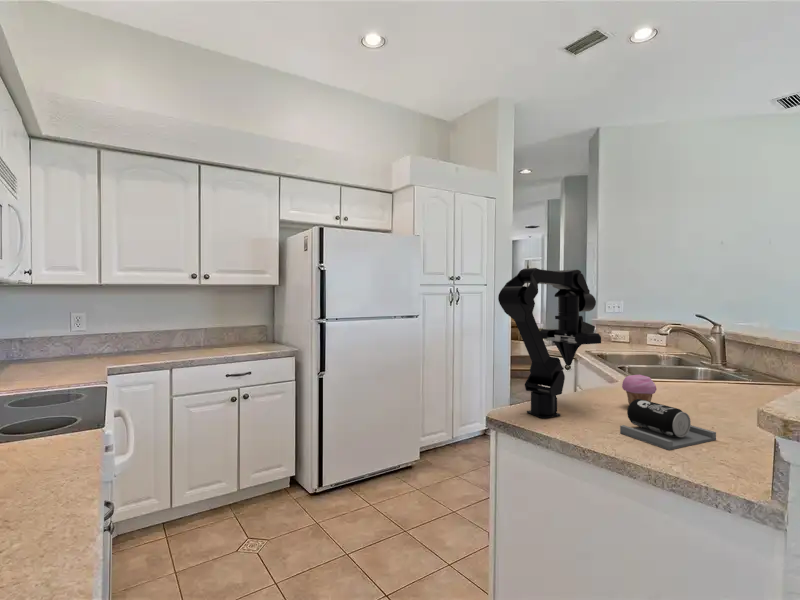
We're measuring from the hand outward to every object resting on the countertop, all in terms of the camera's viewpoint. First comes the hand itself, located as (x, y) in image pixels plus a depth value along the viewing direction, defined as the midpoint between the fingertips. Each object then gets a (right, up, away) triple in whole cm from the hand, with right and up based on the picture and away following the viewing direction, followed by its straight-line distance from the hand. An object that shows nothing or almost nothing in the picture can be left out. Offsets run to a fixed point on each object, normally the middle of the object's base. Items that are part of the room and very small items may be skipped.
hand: (568, 365), depth 124 cm
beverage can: (+9, -9, -18) cm, 22 cm away
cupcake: (+20, -13, -1) cm, 24 cm away
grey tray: (+13, -13, -25) cm, 31 cm away
